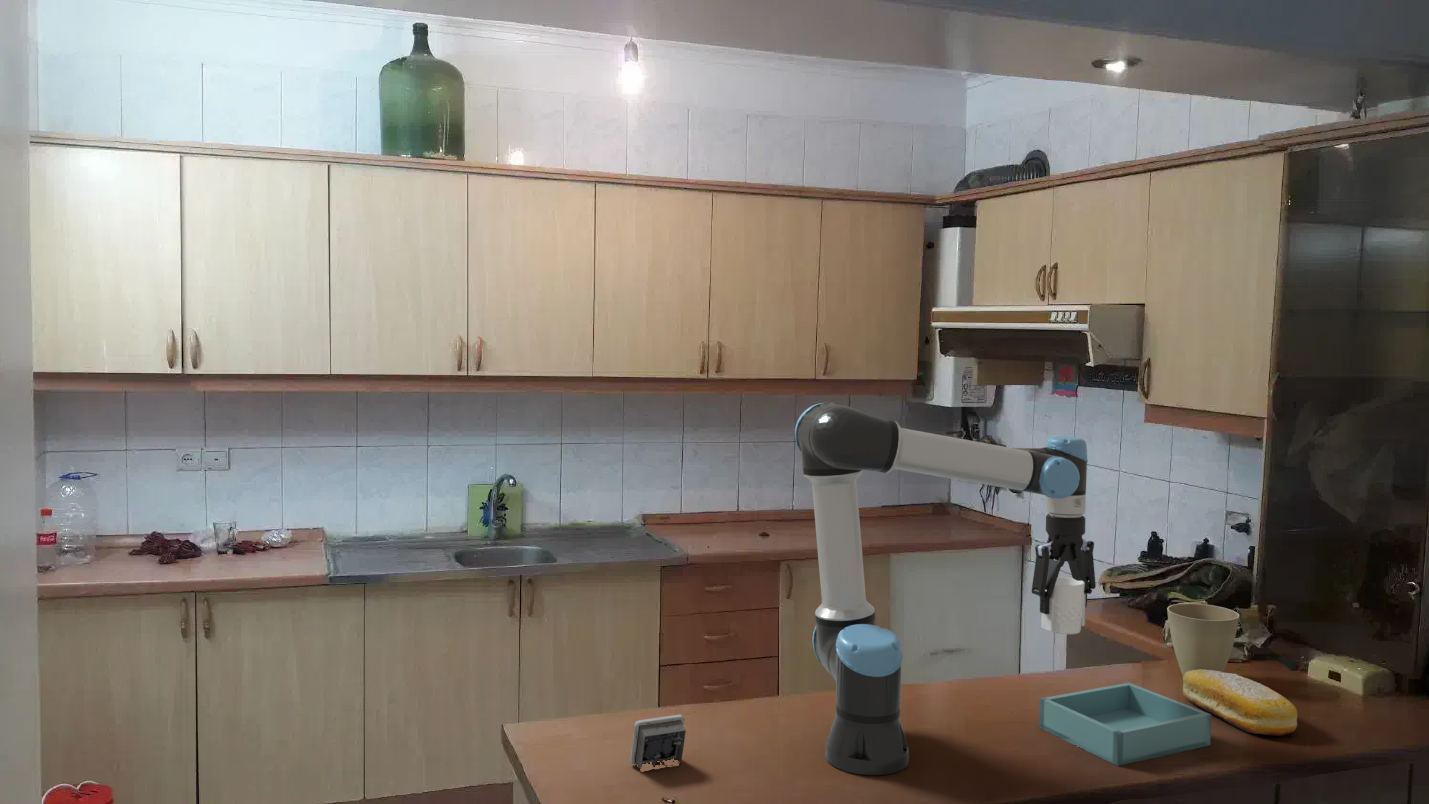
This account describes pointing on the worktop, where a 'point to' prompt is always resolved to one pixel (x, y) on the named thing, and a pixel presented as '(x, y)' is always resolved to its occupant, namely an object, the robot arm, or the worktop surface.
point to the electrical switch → (658, 740)
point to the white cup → (1068, 605)
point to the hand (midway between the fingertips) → (1063, 626)
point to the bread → (1240, 702)
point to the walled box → (1125, 723)
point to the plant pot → (1202, 635)
